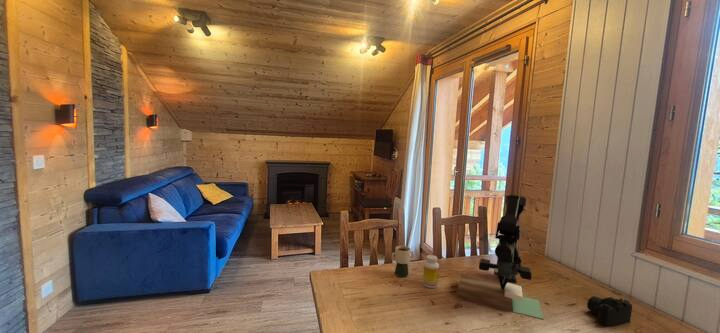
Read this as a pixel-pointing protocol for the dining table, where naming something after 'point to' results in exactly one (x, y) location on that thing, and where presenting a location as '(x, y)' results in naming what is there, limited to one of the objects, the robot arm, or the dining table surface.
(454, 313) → the dining table surface
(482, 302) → the deck
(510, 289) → the white rectangular block
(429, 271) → the supplement bottle
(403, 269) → the character mug
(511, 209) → the robot arm
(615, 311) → the film camera
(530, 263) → the dining table surface
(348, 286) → the dining table surface
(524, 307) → the mat
